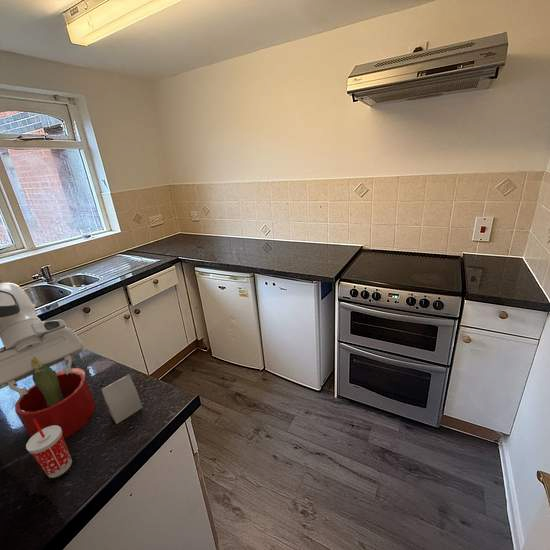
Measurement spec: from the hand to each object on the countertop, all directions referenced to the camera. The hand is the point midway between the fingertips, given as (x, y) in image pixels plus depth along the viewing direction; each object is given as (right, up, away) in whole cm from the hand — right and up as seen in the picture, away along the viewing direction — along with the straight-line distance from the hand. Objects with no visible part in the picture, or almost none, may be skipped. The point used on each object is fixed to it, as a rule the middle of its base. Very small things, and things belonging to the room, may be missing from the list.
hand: (48, 384), depth 74 cm
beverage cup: (+9, -15, -8) cm, 19 cm away
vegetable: (+1, -10, +5) cm, 11 cm away
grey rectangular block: (+17, -9, +5) cm, 20 cm away
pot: (+1, -11, +5) cm, 12 cm away
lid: (-10, -7, +17) cm, 21 cm away
